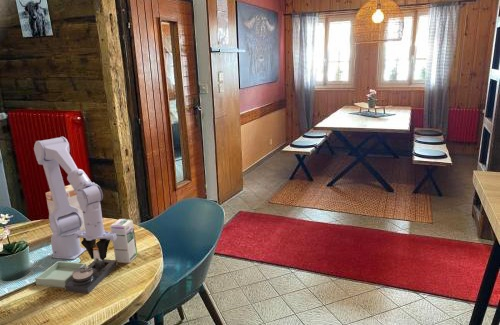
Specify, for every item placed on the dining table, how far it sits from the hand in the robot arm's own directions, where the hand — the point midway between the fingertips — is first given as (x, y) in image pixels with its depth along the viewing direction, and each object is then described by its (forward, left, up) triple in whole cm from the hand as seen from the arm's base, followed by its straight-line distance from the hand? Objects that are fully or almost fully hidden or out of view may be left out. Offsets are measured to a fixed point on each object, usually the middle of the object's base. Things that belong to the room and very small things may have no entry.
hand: (98, 257), depth 131 cm
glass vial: (0, 0, -3) cm, 3 cm away
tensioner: (0, -5, -5) cm, 7 cm away
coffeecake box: (-30, +27, -5) cm, 41 cm away
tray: (-10, -6, -5) cm, 13 cm away
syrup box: (+5, +9, -5) cm, 11 cm away
